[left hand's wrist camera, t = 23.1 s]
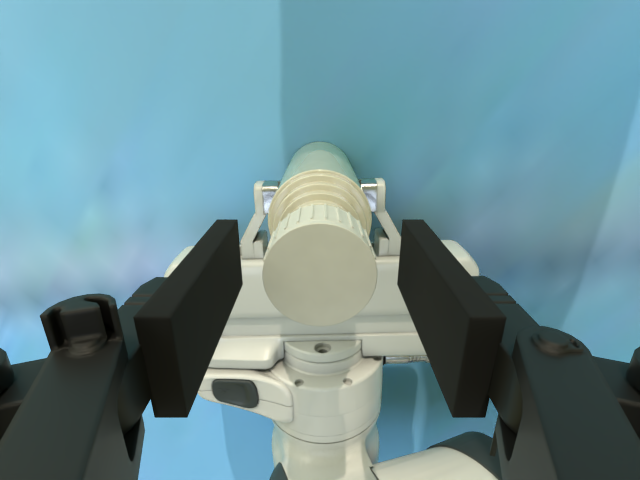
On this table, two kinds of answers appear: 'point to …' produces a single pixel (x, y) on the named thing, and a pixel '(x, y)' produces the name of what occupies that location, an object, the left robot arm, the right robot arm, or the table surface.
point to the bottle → (319, 185)
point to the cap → (319, 266)
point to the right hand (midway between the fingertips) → (318, 180)
